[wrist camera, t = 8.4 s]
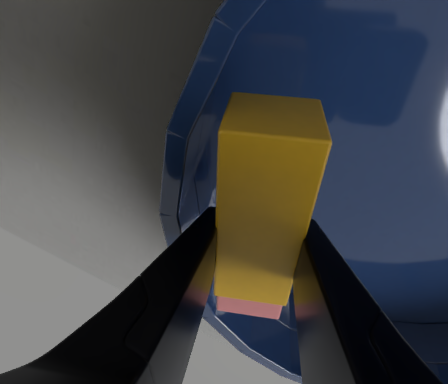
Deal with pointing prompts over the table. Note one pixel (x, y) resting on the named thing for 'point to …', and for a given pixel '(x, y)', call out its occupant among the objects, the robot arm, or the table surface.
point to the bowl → (334, 152)
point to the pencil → (265, 197)
